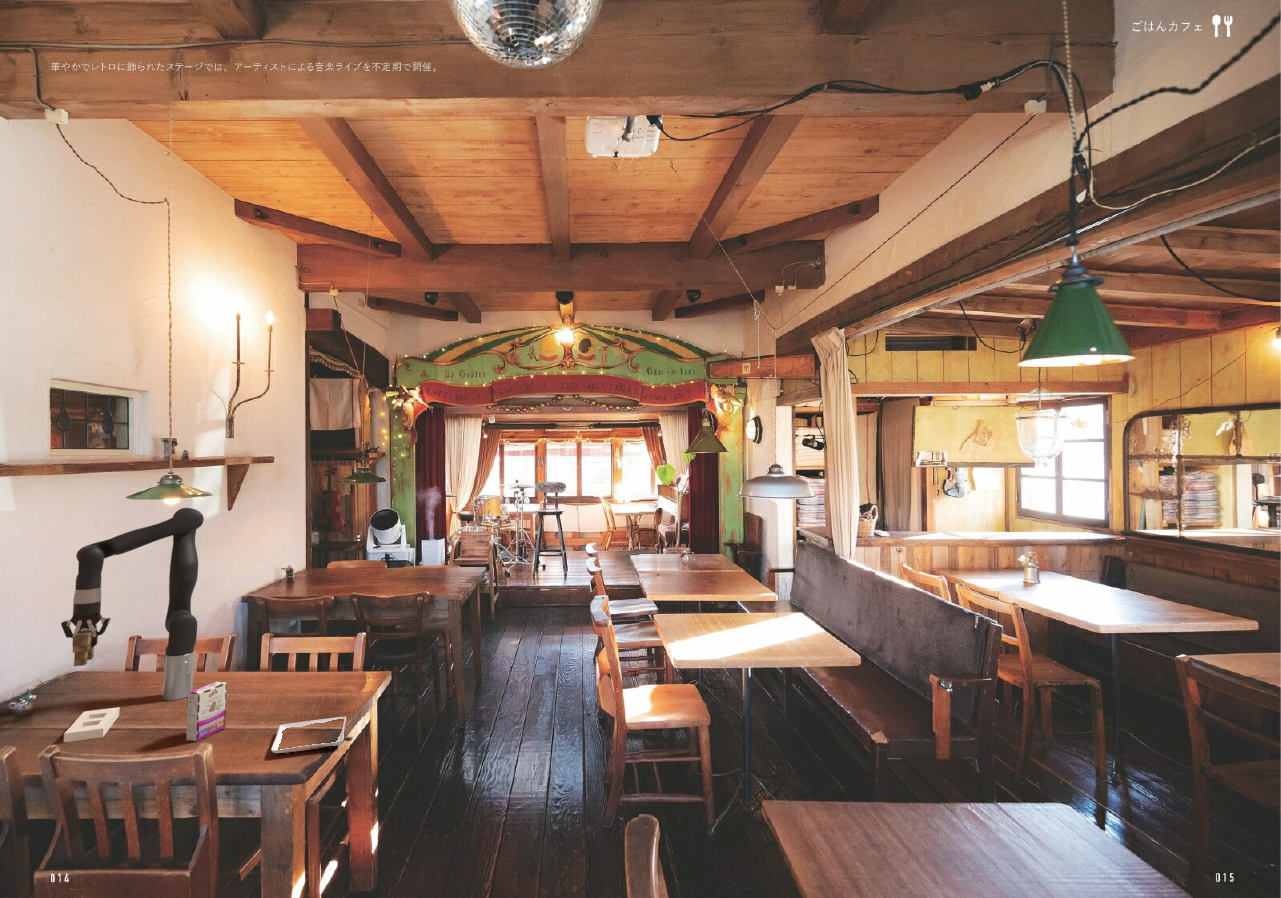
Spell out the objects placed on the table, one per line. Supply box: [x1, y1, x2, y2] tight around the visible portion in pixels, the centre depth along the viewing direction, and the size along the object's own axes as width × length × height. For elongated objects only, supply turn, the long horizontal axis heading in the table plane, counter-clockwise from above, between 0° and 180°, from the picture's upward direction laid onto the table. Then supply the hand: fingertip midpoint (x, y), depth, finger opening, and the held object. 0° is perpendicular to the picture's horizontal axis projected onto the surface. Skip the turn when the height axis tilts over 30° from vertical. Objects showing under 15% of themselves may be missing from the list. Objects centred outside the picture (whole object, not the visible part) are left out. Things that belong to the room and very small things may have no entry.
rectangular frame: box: [270, 715, 347, 755], centre depth 208 cm, size 21×21×3 cm
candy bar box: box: [185, 680, 228, 742], centre depth 211 cm, size 11×5×16 cm, turn 168°
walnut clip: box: [72, 628, 95, 667], centre depth 222 cm, size 4×10×11 cm, turn 28°
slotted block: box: [63, 706, 121, 744], centre depth 212 cm, size 10×20×3 cm, turn 29°
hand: (84, 647), depth 222 cm, fingers closed on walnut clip, 4 cm apart
